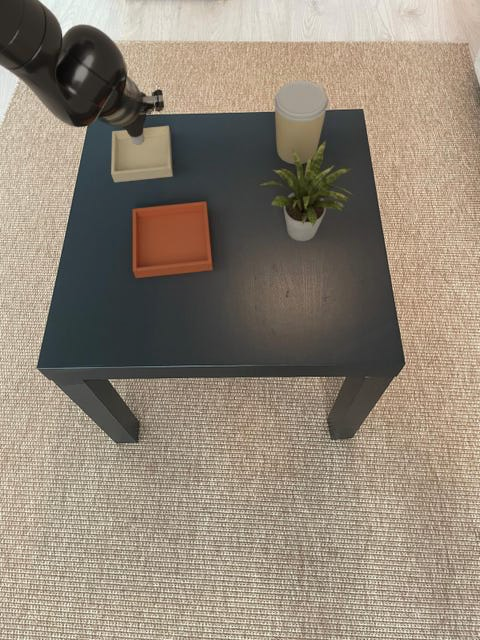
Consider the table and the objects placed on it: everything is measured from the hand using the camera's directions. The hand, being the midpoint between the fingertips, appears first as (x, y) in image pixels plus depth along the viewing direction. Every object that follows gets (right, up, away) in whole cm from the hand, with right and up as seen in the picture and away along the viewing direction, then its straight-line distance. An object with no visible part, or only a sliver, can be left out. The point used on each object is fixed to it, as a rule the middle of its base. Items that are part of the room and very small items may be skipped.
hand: (131, 109), depth 86 cm
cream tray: (+1, -6, +8) cm, 10 cm away
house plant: (+30, -23, -1) cm, 37 cm away
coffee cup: (+31, -5, +8) cm, 32 cm away
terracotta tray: (+8, -24, -1) cm, 25 cm away
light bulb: (0, -4, +5) cm, 7 cm away
